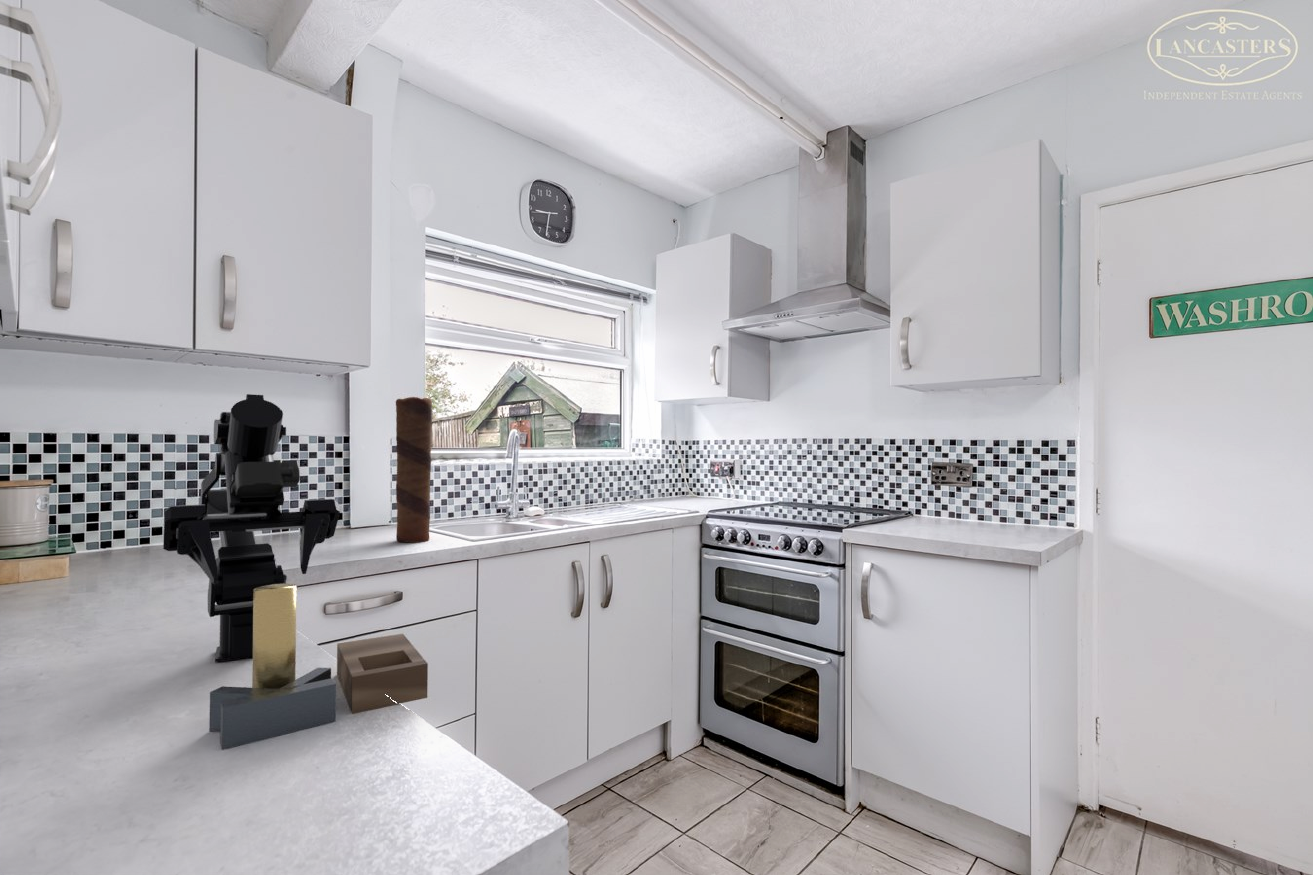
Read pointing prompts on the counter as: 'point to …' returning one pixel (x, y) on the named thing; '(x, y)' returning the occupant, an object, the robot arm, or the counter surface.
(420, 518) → the wafer roll
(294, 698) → the steel V-block
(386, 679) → the wooden socket block
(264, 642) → the brass axle
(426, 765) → the counter surface
